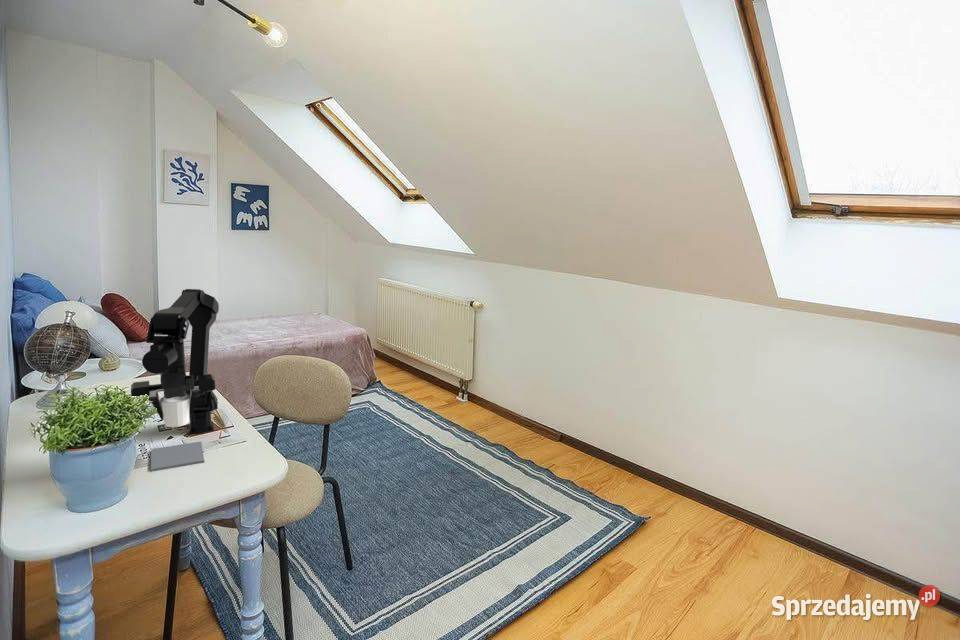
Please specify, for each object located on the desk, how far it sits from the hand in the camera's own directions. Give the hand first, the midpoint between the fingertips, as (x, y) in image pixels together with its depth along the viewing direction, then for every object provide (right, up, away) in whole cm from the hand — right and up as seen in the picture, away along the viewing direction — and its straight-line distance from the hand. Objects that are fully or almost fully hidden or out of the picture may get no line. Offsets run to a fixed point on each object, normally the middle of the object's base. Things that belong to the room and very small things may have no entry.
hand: (176, 417), depth 142 cm
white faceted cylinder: (0, -2, 0) cm, 2 cm away
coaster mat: (-1, -11, +3) cm, 11 cm away
